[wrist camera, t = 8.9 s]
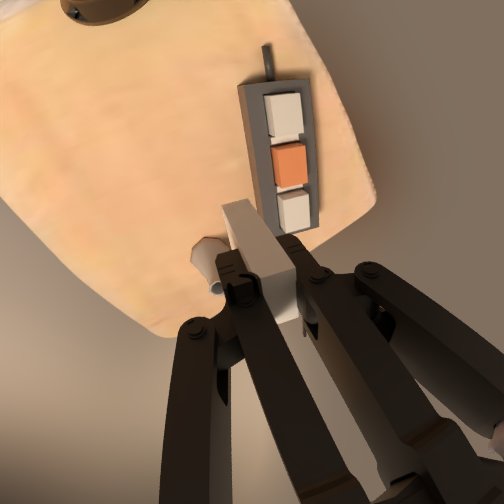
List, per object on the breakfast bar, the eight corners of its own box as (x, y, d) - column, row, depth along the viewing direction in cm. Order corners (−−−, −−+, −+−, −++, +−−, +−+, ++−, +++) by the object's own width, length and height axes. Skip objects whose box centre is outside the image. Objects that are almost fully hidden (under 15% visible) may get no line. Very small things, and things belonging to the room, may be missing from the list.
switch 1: (260, 95, 36) (270, 96, 33) (288, 92, 37) (299, 93, 34) (266, 132, 40) (275, 137, 36) (292, 128, 40) (303, 132, 37)
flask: (183, 263, 51) (188, 299, 43) (200, 231, 48) (209, 263, 40) (217, 274, 54) (228, 310, 46) (235, 244, 52) (250, 277, 44)
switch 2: (268, 145, 41) (277, 150, 38) (294, 140, 41) (305, 145, 38) (272, 180, 44) (281, 188, 41) (297, 174, 45) (307, 182, 42)
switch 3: (273, 191, 45) (282, 200, 42) (298, 185, 46) (308, 194, 43) (277, 222, 49) (286, 233, 46) (300, 216, 50) (310, 226, 46)
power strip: (231, 50, 33) (237, 46, 30) (292, 45, 34) (304, 42, 31) (260, 230, 51) (267, 241, 48) (309, 217, 53) (319, 227, 50)
